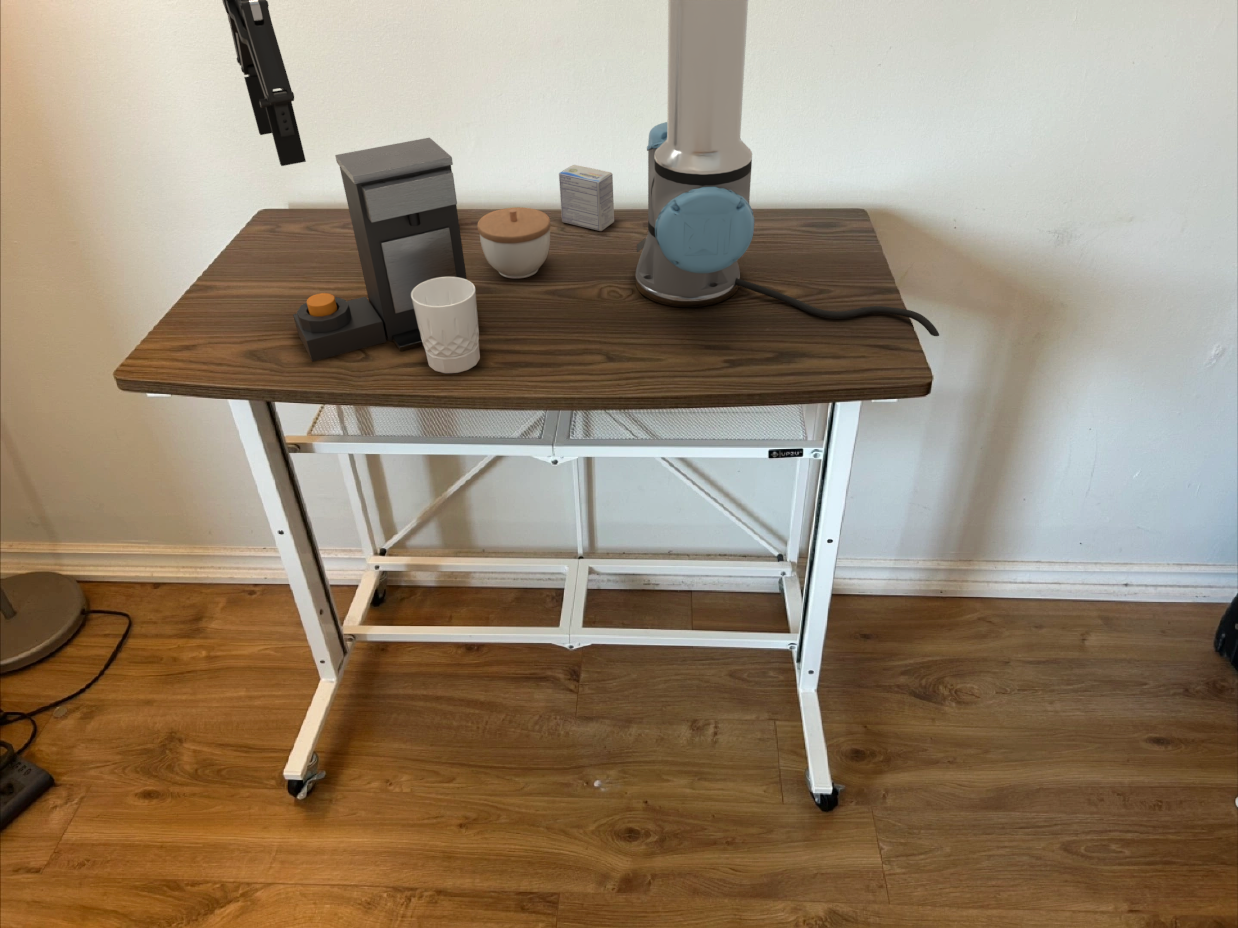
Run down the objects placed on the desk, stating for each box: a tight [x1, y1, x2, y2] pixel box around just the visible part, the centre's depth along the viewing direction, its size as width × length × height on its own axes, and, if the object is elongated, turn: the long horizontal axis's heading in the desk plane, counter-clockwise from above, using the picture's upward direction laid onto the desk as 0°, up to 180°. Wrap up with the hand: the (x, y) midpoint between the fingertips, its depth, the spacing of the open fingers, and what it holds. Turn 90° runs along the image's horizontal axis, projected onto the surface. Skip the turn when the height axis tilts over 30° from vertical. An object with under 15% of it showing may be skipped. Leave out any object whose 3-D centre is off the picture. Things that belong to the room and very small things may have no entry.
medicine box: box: [558, 164, 615, 232], centre depth 146 cm, size 8×4×9 cm, turn 58°
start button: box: [306, 292, 337, 316], centre depth 117 cm, size 4×4×2 cm
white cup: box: [411, 277, 481, 374], centre depth 113 cm, size 8×8×10 cm
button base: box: [292, 296, 388, 362], centre depth 119 cm, size 10×8×5 cm
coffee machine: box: [334, 137, 468, 353], centre depth 117 cm, size 12×12×23 cm
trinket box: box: [477, 206, 551, 279], centre depth 133 cm, size 11×11×9 cm
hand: (281, 147), depth 104 cm, fingers open, 11 cm apart
